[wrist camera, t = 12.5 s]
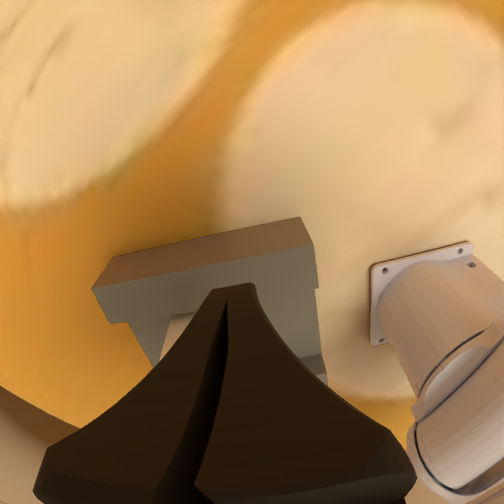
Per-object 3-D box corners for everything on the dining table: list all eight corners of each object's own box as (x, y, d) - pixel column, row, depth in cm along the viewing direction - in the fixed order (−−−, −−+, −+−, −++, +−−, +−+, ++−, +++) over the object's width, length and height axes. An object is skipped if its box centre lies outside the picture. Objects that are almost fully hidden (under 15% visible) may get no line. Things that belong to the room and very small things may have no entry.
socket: (300, 216, 19) (313, 243, 16) (318, 358, 25) (328, 394, 22) (113, 257, 20) (91, 288, 17) (175, 380, 26) (168, 415, 22)
